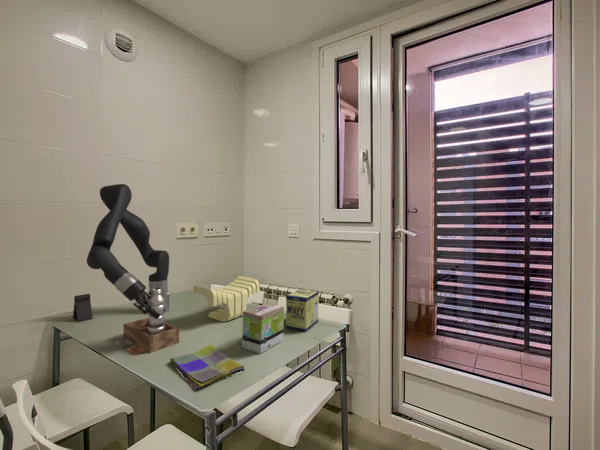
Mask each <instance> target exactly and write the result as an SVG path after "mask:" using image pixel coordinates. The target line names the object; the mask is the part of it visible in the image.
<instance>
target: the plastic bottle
mask: <svg viewBox="0 0 600 450" xmlns="http://www.w3.org/2000/svg"><path fill="white" fill-rule="evenodd" d="M161 293H162V289H161V288H153V289H152V292H151V294H152V296H151V297H150V298H149V302H150V305H151V306H152V307H153V309H155V310H156V311H157V312H158V313H159V314H160V317H159V318H158V319H155V318H154V317H153V316H152V315H150V314H149V315H148V317H149V327H148V334H149V335H151V336H152V335H155V334H158V333H161V332H164V331H165V330H166V329H165V324H164V322H165V317H164V315H165V312H164V307H165V299H164V297H163V296H162V295H161Z"/></svg>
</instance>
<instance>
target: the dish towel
mask: <svg viewBox="0 0 600 450" xmlns="http://www.w3.org/2000/svg"><path fill="white" fill-rule="evenodd" d="M169 361H170V363H171V364H173V365H172V367H174V369H175V368H177V369H178V370H179V371H180V372H181V373H182V375H183V376H184V378H186V379H187V380H188V382H189V383H190V385H192V386H193V387H192V386H191V387H192V388H193V389H194V390H196V389H195V388H197V389H201V388H200V387H202V388H204V387H203V386H205V387H207V386H209V385H208V384H210V385H212V384H214V383H213V382H215V383H217V382H216V381H218V382H219V380H220V381H223V380H225V379H227V378H226V377H228V376H231V375H233V374H235V373H237V372H240V371H244V372H245V367H244V365H242V364H241V363H238V362H237V361H235V360H233V359H232V358H230V357H228V356H227V355H226V354H224V353H223V352H222V351H220V350H219V349H218V348H217V347H215V346H214V345H212V344H209V345H207V346H206V347H203V348H201V349H199V350H197V351H195V352H191V353H188V354H185V355H181V356H178V357H177V356H176V357H171V358H170V359H169ZM231 377H232V376H231ZM184 378H183V379H184ZM224 378H225V379H224ZM222 379H223V380H222ZM188 382H187V383H188ZM189 383H188V384H189ZM211 383H212V384H211ZM190 385H189V386H190ZM206 385H207V386H206Z"/></svg>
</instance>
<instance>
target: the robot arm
mask: <svg viewBox="0 0 600 450" xmlns="http://www.w3.org/2000/svg"><path fill="white" fill-rule="evenodd" d="M99 197H100V199H101V201H102V202H103V204H104V205H105V207H107V209H108V210H109V211H108V213H106V215H105V216H104V217H103V218H102V219H101V220H100V221H99V223H98V224H97V226H96V230H95V233H94V235H93V240H92V245H91V247H90V250H89V252H88V253H87V258H86V264H87V266H88V267H89V268H90V269H92V270H101V271H102V272H103V275H104V277H105V279H106V280H107V281H108V282H109V283H111V284H112V285H113V286H114V287H115V289H116V290H117V291H119V292H120V293H121V294H122V295H123V296H124V297H125V298H127V299H128V300H129V301H130V302H132V301H135V302H134V303H133V306H134V307H135V308H137V309H138V310H139V311H140V312H142V313H143V314H144V315H146V314H150V315H152V316H153V317H154V318H155V319H158V318H159V317H160V314H159V313H158V312H157V311H156V310H155V309H153V307H152V306H151V305H150V302H149V298H150V297H151V296H152V294H151V292H152V289H153V288H161V289H162V293H161V295H162V296H163V297H164V299H165V307H164V313H166V312H168V311H170V292H168V290H169V289H168V286H169V284H168V276H169V271H170V255H169V253H168V251H166V250H162V249H161V250H159V249H154V248H153V247H152V245H150V238H151V237H150V236H151V232H150V229H149V227H148V226H147V224H146V222H145V221H144V220H143V218H141V217H140V216H138V215H137V214H134V213H133V212H131V211H129V210H128V209H127V208H128V207H129V205H130V202H131V201H132V197H133V193H132V190H131V188H130V187H129V186H128V185H127V184H125V183H118V184H112V185H111V184H110V185H105V186H102V187H101V188H100V189H99ZM119 225H121V226H122V227H123V229H124V231H125V232H126V233H127V235H128V237H129V238H130V240H131V241H132V242H133V244H134V245H135V247H136V249H137V250H138V252H139V253H140V255H141V258H142V259H143V262H144V263H145V264H146V266H148V267H150V268H156V271H155V272H153V273H151V274H149V275H148V292H147V291H146V289H147V287H146V285H145V284H144V283H143V282H141V280H139V278H137V277H136V276H135V275H134V274H133V273H131V272H129V271H128V270H127V269H126V268H125V267H124V266H123V265H122V264H121V263H120V261H119V260H118V259H117V257H115V255H114V254H113V253H112V251H111V249H112V248H111V247H112V246H113V244H114V241H115V238H116V234H117V231H118V228H119Z"/></svg>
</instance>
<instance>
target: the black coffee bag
mask: <svg viewBox="0 0 600 450" xmlns="http://www.w3.org/2000/svg"><path fill="white" fill-rule="evenodd" d="M72 319H73V320H75V322H78V323H80V322H85V321H88V320H92V319H93V312H92V303H91V294H90V293H87V294H86V293H85V294H79V295H75V296H74V304H73V311H72Z"/></svg>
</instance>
